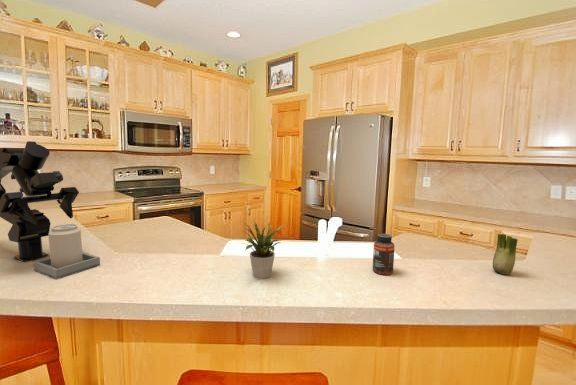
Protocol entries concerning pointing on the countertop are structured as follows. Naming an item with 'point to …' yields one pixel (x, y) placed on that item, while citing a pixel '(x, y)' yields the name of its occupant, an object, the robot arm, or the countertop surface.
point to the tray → (55, 273)
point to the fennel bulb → (505, 254)
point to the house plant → (262, 251)
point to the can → (65, 245)
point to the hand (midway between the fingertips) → (55, 220)
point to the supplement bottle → (383, 255)
